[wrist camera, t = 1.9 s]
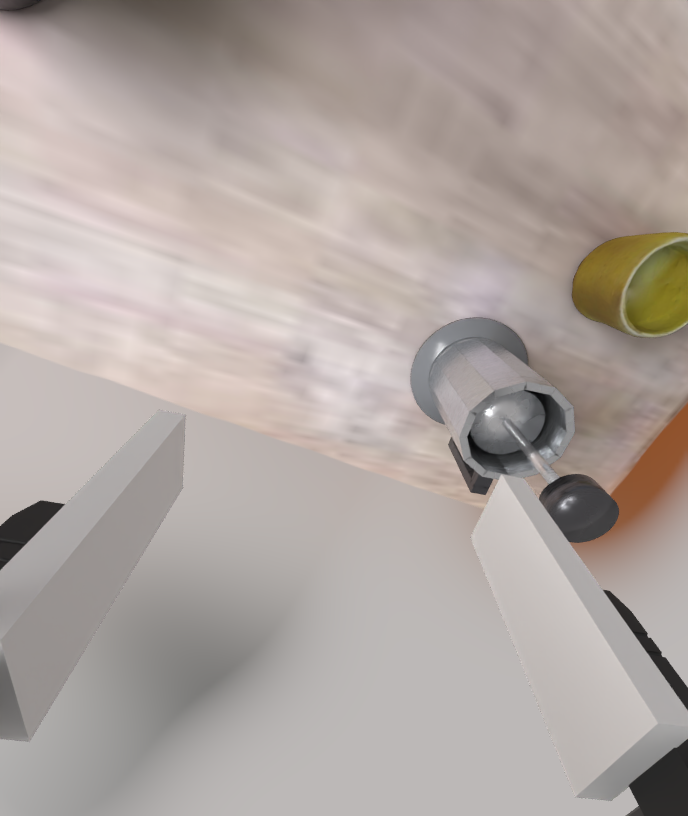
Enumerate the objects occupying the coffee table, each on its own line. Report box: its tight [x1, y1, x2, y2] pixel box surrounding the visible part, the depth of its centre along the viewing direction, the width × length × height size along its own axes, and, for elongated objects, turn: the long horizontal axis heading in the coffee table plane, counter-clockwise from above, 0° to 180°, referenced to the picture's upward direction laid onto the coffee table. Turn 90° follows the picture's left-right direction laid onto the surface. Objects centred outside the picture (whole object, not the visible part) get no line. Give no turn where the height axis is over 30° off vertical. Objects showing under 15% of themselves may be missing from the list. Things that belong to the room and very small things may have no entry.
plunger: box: [469, 390, 619, 543], centre depth 30 cm, size 7×7×13 cm
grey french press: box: [429, 337, 575, 495], centre depth 40 cm, size 13×10×14 cm
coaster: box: [411, 318, 528, 425], centre depth 46 cm, size 14×14×1 cm
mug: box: [572, 232, 688, 338], centre depth 38 cm, size 12×10×10 cm
